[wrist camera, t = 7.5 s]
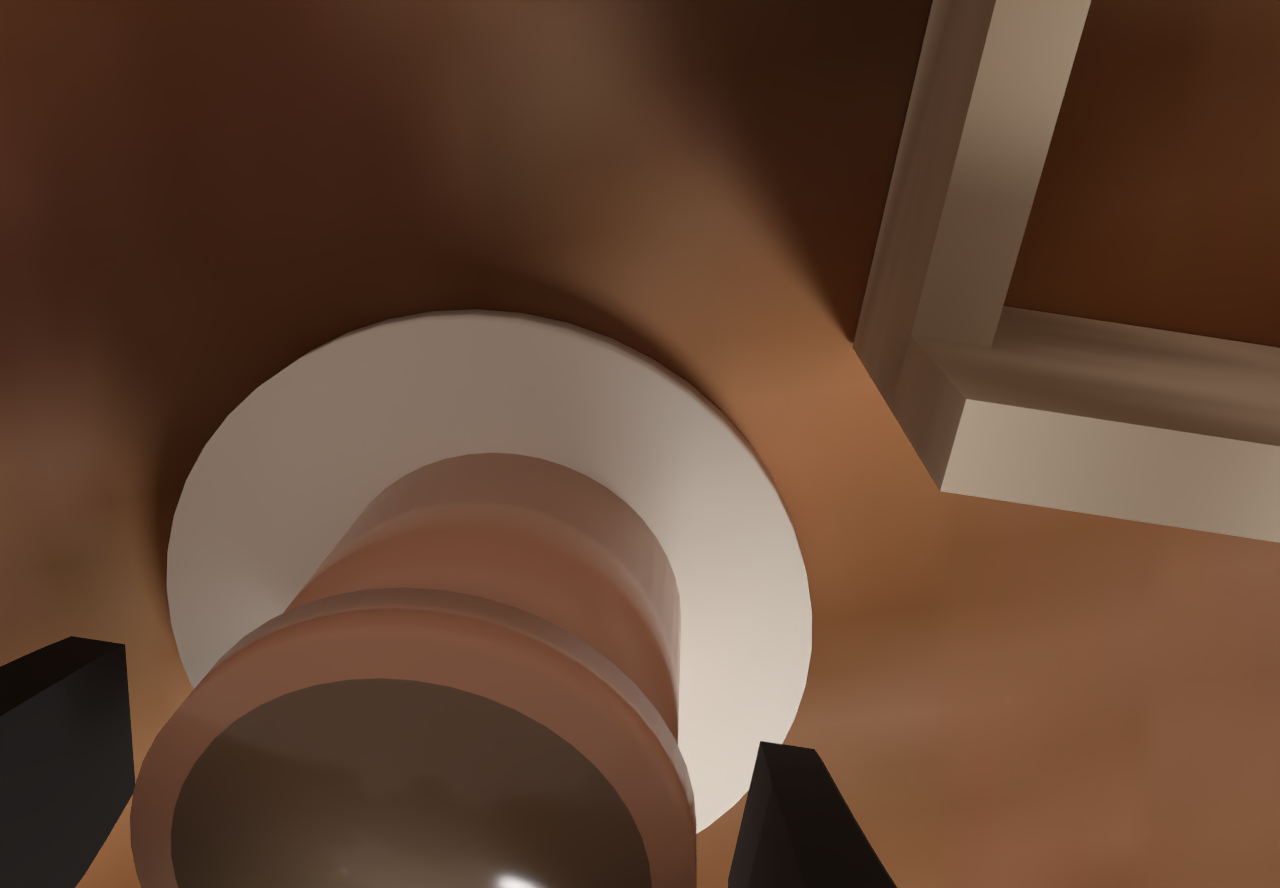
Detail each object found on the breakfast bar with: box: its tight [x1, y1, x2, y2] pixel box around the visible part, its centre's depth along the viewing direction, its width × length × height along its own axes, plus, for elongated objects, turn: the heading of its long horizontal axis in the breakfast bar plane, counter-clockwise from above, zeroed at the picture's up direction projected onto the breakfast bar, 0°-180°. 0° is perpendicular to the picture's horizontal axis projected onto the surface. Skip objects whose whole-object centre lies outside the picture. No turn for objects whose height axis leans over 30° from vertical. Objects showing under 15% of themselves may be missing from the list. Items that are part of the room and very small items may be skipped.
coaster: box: [167, 309, 812, 834], centre depth 13 cm, size 9×9×1 cm
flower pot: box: [130, 453, 696, 888], centre depth 11 cm, size 5×5×5 cm
